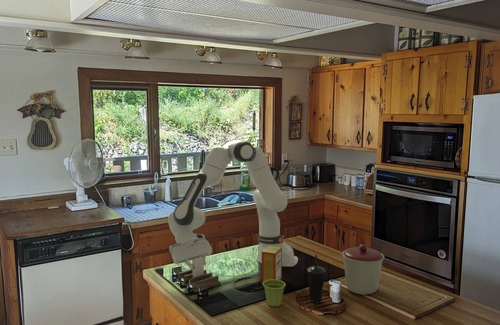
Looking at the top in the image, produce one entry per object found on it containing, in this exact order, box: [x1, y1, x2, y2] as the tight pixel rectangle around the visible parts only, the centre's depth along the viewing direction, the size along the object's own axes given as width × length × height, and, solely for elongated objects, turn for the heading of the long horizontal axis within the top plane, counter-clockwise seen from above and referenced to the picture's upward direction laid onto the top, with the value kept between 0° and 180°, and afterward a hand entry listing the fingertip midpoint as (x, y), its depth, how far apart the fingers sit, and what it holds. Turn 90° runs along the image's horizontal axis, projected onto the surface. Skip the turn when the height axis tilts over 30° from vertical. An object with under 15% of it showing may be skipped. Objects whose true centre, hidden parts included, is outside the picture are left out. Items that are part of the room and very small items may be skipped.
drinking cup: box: [306, 254, 326, 303], centre depth 174 cm, size 8×8×20 cm
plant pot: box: [262, 279, 287, 308], centre depth 172 cm, size 9×9×9 cm
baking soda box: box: [261, 246, 283, 285], centre depth 195 cm, size 10×6×16 cm
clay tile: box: [191, 257, 205, 278], centre depth 193 cm, size 2×5×10 cm, turn 132°
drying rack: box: [175, 268, 222, 292], centre depth 193 cm, size 16×14×4 cm
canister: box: [341, 243, 385, 296], centre depth 185 cm, size 18×18×21 cm
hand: (198, 266), depth 192 cm, fingers open, 5 cm apart
